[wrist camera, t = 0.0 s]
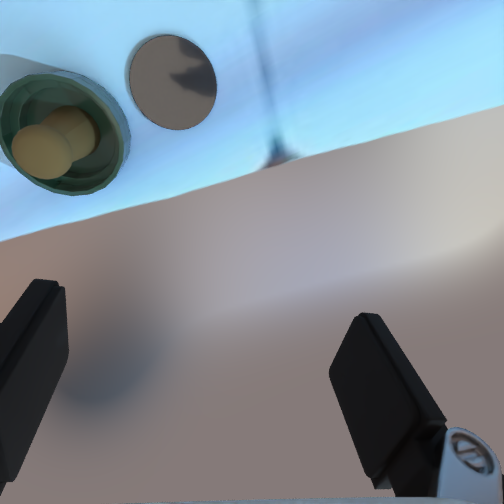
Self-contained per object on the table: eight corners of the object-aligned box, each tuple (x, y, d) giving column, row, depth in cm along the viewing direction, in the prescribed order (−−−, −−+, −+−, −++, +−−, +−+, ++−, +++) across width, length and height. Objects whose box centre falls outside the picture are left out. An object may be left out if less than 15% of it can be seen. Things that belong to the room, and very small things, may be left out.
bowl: (-12, 99, 39) (-35, 106, 35) (88, 50, 38) (75, 51, 34) (63, 197, 46) (50, 211, 42) (150, 159, 44) (145, 169, 41)
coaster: (112, 58, 38) (111, 58, 38) (193, 19, 37) (193, 19, 37) (157, 141, 43) (157, 142, 43) (229, 109, 42) (230, 110, 42)
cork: (65, 163, 43) (27, 196, 34) (35, 115, 40) (-16, 136, 31) (109, 147, 43) (83, 176, 34) (83, 97, 40) (45, 114, 30)
